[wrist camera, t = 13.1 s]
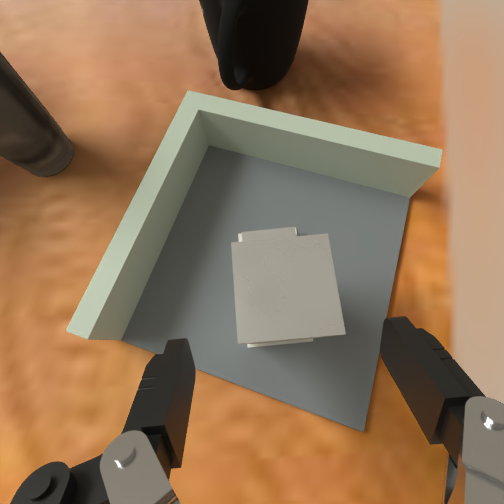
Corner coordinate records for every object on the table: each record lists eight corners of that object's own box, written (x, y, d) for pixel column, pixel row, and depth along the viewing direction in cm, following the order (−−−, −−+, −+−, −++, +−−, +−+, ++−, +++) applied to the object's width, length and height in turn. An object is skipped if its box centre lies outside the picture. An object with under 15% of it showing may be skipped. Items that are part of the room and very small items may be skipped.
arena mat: (361, 430, 19) (364, 432, 18) (105, 333, 21) (102, 333, 21) (410, 184, 24) (413, 181, 23) (200, 131, 27) (199, 127, 26)
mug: (228, 27, 31) (210, -119, 21) (311, 41, 29) (333, -107, 20) (188, 115, 27) (145, -10, 18) (280, 135, 26) (288, 13, 16)
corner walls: (361, 430, 19) (389, 456, 14) (105, 333, 21) (65, 330, 17) (410, 184, 24) (442, 149, 20) (200, 131, 27) (187, 90, 22)
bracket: (308, 338, 20) (345, 334, 11) (251, 343, 20) (237, 343, 11) (293, 232, 23) (313, 151, 13) (242, 237, 23) (225, 160, 13)
